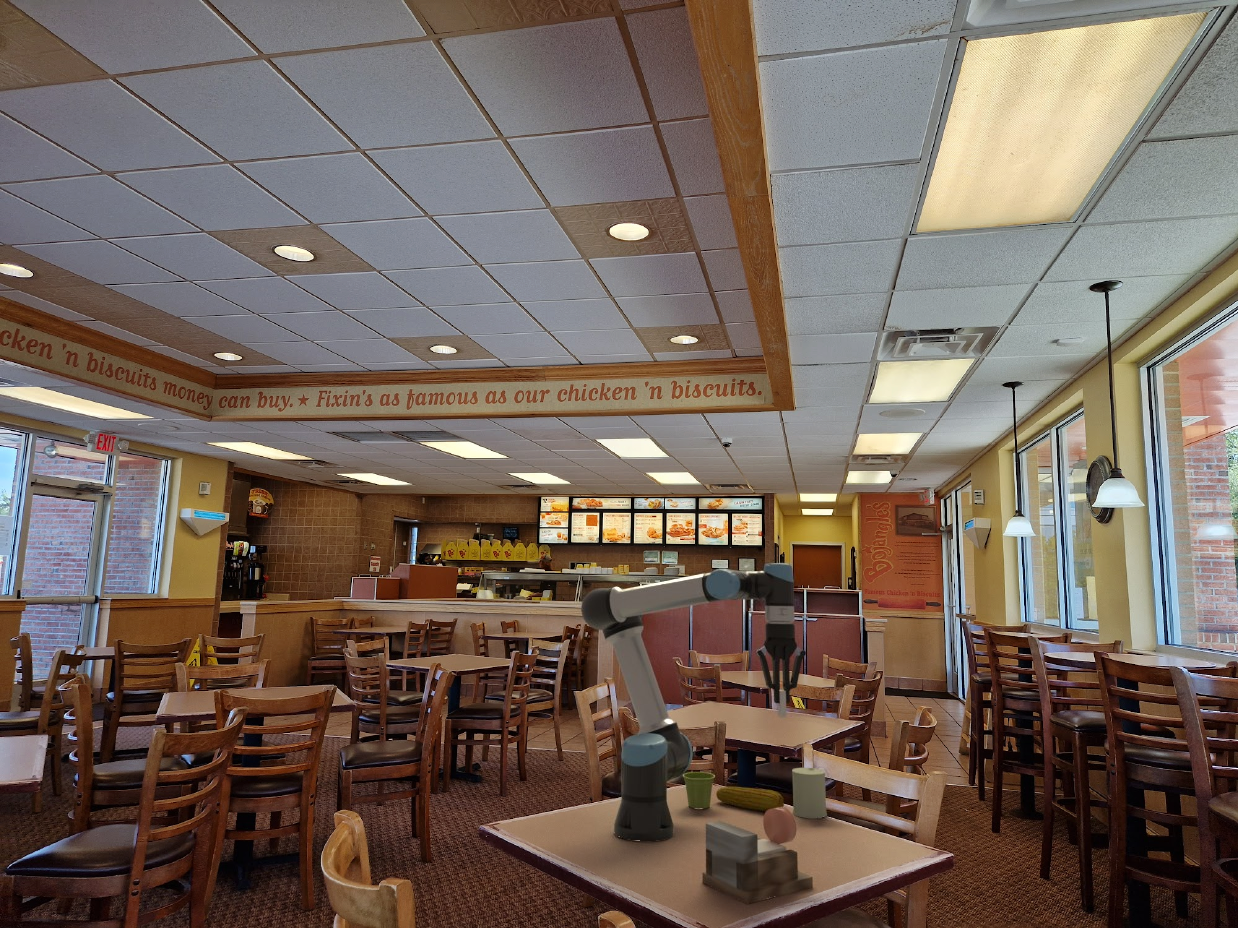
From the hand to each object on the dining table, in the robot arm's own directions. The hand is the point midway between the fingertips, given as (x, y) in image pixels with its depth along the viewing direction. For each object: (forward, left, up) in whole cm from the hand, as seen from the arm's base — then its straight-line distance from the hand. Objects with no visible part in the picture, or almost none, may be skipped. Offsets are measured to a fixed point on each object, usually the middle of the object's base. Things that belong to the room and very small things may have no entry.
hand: (782, 716), depth 201 cm
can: (+13, +23, -30) cm, 40 cm away
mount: (-14, -32, -29) cm, 46 cm away
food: (-3, +30, -30) cm, 42 cm away
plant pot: (-17, +31, -30) cm, 46 cm away
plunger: (-13, -31, -27) cm, 43 cm away
